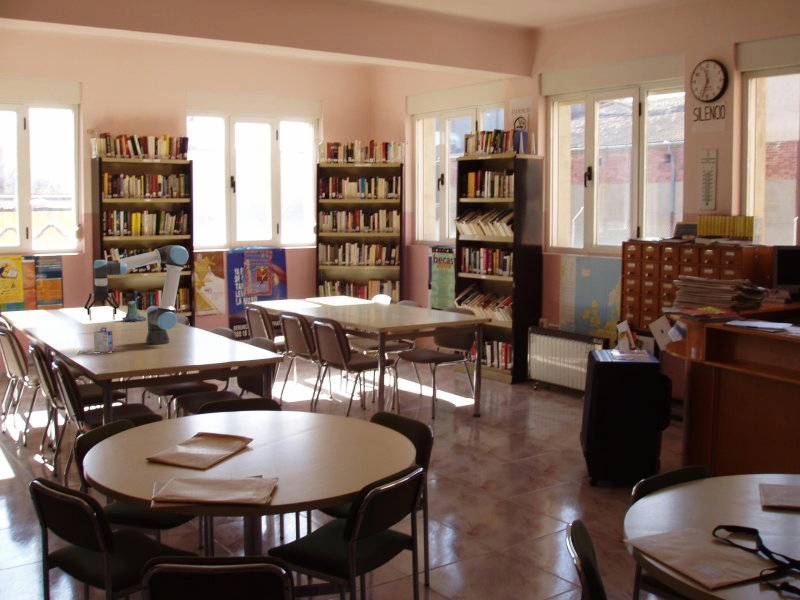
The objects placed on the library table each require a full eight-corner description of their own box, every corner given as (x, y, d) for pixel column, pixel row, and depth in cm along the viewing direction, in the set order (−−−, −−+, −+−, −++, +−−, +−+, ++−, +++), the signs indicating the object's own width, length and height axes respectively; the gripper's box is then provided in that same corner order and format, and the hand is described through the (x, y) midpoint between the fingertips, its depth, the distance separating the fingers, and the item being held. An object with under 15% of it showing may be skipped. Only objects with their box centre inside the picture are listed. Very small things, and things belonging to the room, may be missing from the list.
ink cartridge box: (113, 350, 526) (112, 327, 525) (109, 352, 521) (107, 328, 519) (99, 350, 528) (97, 327, 527) (94, 351, 523) (92, 328, 521)
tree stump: (152, 319, 675) (149, 298, 668) (139, 329, 657) (136, 307, 650) (131, 317, 679) (128, 296, 673) (117, 327, 661) (114, 305, 655)
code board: (113, 349, 532) (113, 349, 532) (111, 353, 519) (111, 352, 519) (79, 351, 528) (79, 350, 527) (76, 354, 514) (76, 354, 514)
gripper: (123, 284, 527) (124, 318, 529) (80, 285, 520) (81, 319, 523) (122, 285, 519) (123, 320, 522) (78, 286, 513) (80, 321, 515)
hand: (102, 319), depth 522 cm, fingers open, 13 cm apart
